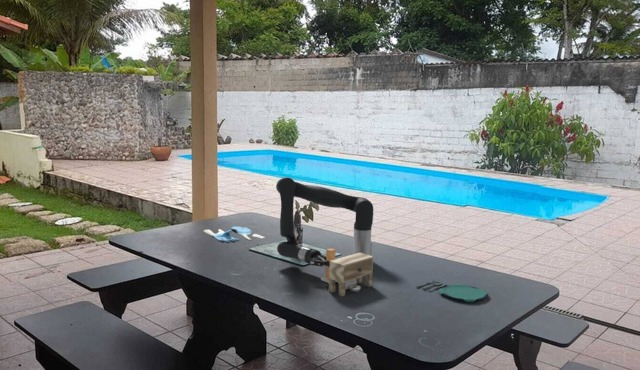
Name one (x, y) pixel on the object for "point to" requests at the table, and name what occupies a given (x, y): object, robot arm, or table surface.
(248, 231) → the rubber gloves
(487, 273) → the table surface
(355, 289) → the steel disc
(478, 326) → the table surface
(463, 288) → the cutlery set
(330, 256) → the orange post on base
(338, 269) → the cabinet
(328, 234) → the table surface
